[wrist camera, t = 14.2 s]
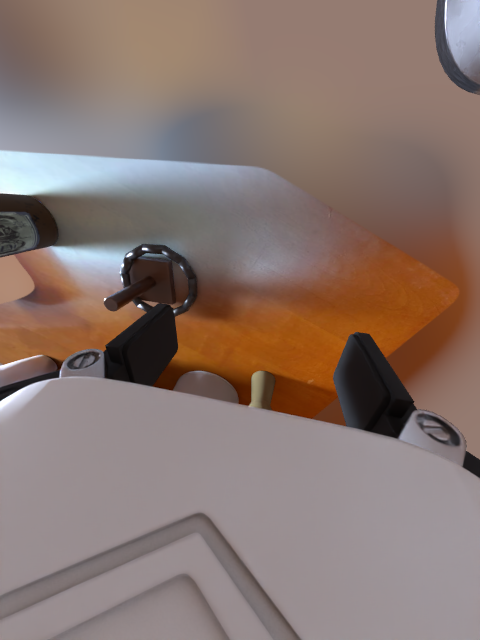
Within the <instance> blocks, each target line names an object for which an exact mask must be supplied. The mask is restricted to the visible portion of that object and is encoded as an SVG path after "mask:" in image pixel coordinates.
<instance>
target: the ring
mask: <svg viewBox="0 0 480 640" xmlns="http://www.w3.org/2000/svg"><path fill="white" fill-rule="evenodd" d="M145 253H153V254H163V255H165V256H166V257H168V258H170V259H171V260H173V261H174V262H176V263H178V264H179V266H180V267H181V269H182V270H183V272H184V273H185V275H186V277H187V278H188V285H189V295H188V297H187V299H186V300H185V302H184V304H183V305H182V306H179V307H177V308H175V309H174V316H178V315H180V314H182V313H184V312H187V311H188V310H189V309H190V307H191V305H192V304H193V302H194V301H195V299H196V297H197V281H196V276H195V274H194V272H193V271H192V269H191V267H190V266H189V264H188V262H187V261H186V259H185V258H184V257H182V256H181V255H179V254H178V253H176V252H175V251H173V250H171V249H170V248H168V247H167V246H165V245H153V244H141V245H140V246H138V247H136V248H135V249H133V250H132V251H130V252H128V253H127V254H126V255H125V258H124V260H123V263H122V266H121V269H120V276H121V280H122V284H123V288H126V287H128V286H130V285H132V284H131V280H130V275H129V272H130V269H131V267H132V264H133V262H134V260H135V259H137V258H139V257H140V256H142V255H144V254H145ZM132 301H133V302H134V304H135V305H136V306H137V307H138V308H140V309H142V310H144V311H146V312H148V311H150V310H151V309H152V308H153V307H152V306H150V305H148V304H147V303H145V302H143V301H142V300H141V299H140V297H137V298H136V299H134V300H132Z"/></svg>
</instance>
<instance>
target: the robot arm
mask: <svg viewBox="0 0 480 640" xmlns="http://www.w3.org/2000/svg"><path fill="white" fill-rule="evenodd" d="M105 346H106V350H105V351H104V352H102V351H101V350H98V349H87V350H83V351H79V352H77V353H75V354H73V355H71V356H70V357H68V358H67V359H66V360H65V361H64V362H63V364H62V367H61V370H57V371H54V372H50V373H47V374H43V375H40V376H36V377H33V378H29V379H26V380H22V381H19V382H15V383H12V384H9V385H5V386H2V387H0V640H480V460H479V459H478V458H476V457H475V456H473V455H472V454H470V453H469V452H467V451H466V447H467V445H466V440H465V438H464V436H463V435H462V433H461V432H460V431H459V430H458V429H457V428H456V427H455V426H454V425H453V424H452V423H450V422H449V421H447V420H446V419H445V418H443V417H441V416H439V415H437V414H435V413H433V412H430V411H427V410H421V409H419V410H417V409H416V407H415V406H414V404H413V403H414V401H413V399H412V398H411V396H410V395H409V393H408V392H407V390H406V389H405V387H404V386H403V384H402V383H401V381H400V380H399V378H398V377H397V375H396V373H395V372H394V371H393V369H392V367H391V366H390V364H389V363H388V361H387V360H386V358H385V357H384V355H383V354H382V352H381V351H380V349H379V348H378V346H377V345H376V343H375V342H374V340H373V339H372V337H371V336H370V335H369V334H366V333H359V332H355V333H354V334H351V335H350V336H349V338H348V341H347V343H346V345H345V348H344V350H343V353H342V355H341V358H340V360H339V362H338V365H337V367H336V370H335V372H334V376H333V380H334V384H335V387H336V391H337V394H338V398H339V401H340V405H341V408H342V412H343V415H344V419H345V422H346V426H347V427H346V426H341V425H337V424H333V423H328V422H323V421H318V420H314V419H309V418H304V417H299V416H295V415H290V414H285V413H280V412H275V411H271V410H266V409H261V408H256V407H251V406H246V405H241V404H236V403H232V402H227V401H222V400H217V399H212V398H207V397H202V396H197V395H192V394H187V393H182V392H177V391H171V390H166V389H161V388H156V387H152V386H153V384H154V383H155V382H156V380H157V379H158V377H159V376H160V375H161V373H162V372H163V370H164V369H165V368H166V366H167V365H168V363H169V362H170V361H171V359H172V358H173V357H174V355H175V354H176V352H177V350H178V342H177V333H176V325H175V316H174V309H173V308H171V306H170V305H168V304H162V303H159V304H157V305H156V306H155V307H153V308H152V309H151V310H150V311H148V312H147V313H146V314H144V315H143V316H142V317H141V318H139V319H138V320H137V321H136V322H134V323H133V324H132V325H131V326H129V327H128V328H127V329H126V330H124V331H123V332H122V333H121V334H119V335H118V336H117V337H116V338H114V339H113V340H112V341H111V342H109V343H108V344H107V345H105Z"/></svg>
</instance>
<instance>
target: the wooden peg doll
mask: <svg viewBox="0 0 480 640" xmlns="http://www.w3.org/2000/svg"><path fill="white" fill-rule="evenodd" d="M274 385H275V377H274V376H273V375H272V374H271V373H269V372H266V371H258V372H255V373H254V374H253V375H252V379H251V403H250V405H249V406H251V407H256V408H261V409H266V410H271V411H272V409H271V407H270V403H271V399H272V394H273V390H274Z"/></svg>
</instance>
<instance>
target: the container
mask: <svg viewBox="0 0 480 640" xmlns="http://www.w3.org/2000/svg"><path fill="white" fill-rule="evenodd" d="M173 391H177V392H182V393H187V394H192V395H197V396H202V397H207V398H212V399H217V400H222V401H227V402H232V403H236V404H238V401H239V400H238V395H237V392H236V390H235V389H234V387H233V386H232V385H231V384H230V383H229V382H228V381H226V380H225V379H223V378H222V377H220V376H218V375H216V374H213V373H210V372H205V371H192V372H188V373H186V374H184V375H182V376H181V377H180V378H179V379H178V381H177V383H176V386H175V387H174V389H173Z"/></svg>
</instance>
